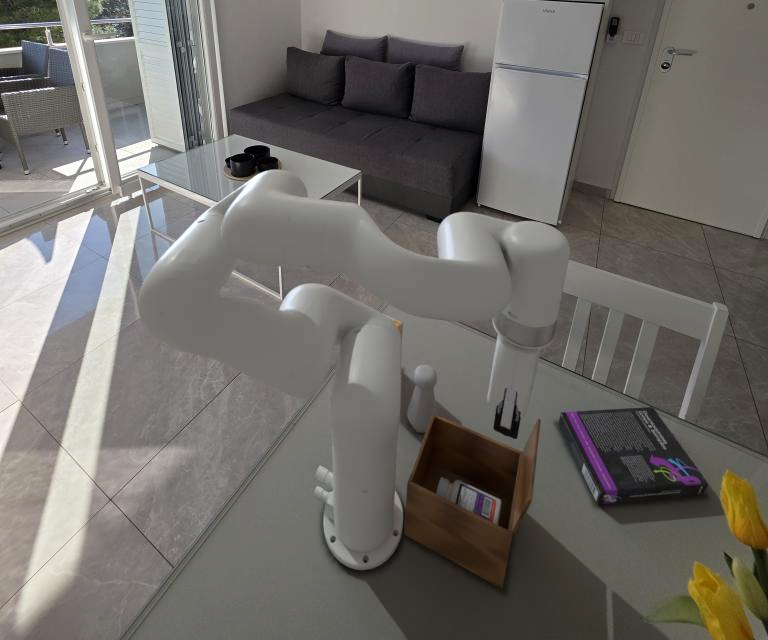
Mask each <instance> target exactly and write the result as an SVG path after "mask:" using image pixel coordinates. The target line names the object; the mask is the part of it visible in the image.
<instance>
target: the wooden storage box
mask: <svg viewBox="0 0 768 640" xmlns="http://www.w3.org/2000/svg"><path fill="white" fill-rule="evenodd" d="M522 454H523V451H522V450H519V449H517V448H514V447H512V446H510V445H507V444H505V443H504V442H501V441H498V440H496V439H494V438H491V437H489V436H487V435H485V434H482V433H480V432H477V431H475V430H472V429H471V428H468V427H466V426H463V425H461V424H459V423H457V422H454V421H452V420H449V419H447V418H445V417H443V416H440V415H438V414H437V415H436V414H432V417H431V420H430V423H429V425H428V428H427V431H426V433H424V435H423V439H422V441H421V445H420V448H419V449H418V453H417V456H416V458H415V461H414V464H413V467H412V469H411V471H410V475H409V477H408V480H407V484H406V497H405V498H406V499H405V512H404V513H405V514H404V525H403V534H404V536H406V537H408V538H410V539H412V540H414V541H415V542H418V543H419V544H421V545H422V546H425V547H426V548H427V549H429V550H432V551H433V552H435V553H437V554H439V555H441V556H442V557H445V558H446V559H448V560H449V561H451V562H454V563H455V564H456V565H458V566H460V567H462V568H464V569H465V570H467V571H470V573H473V574H474V575H475V576H477V577H480V578H481V579H483V580H485V581H486V582H488V583H491V584H492V585H494V586H495V587H497V588H499V589H501V590H503V588H504V583H505V582H504V581H505V576H506V571H507V565H508V560H509V556H510V550H511V545H512V540H513V534H514V533H513V532H512V526H513V518H514V511H515V504H516V497H517V490H518V483H519V475H520V468H521V461H522ZM441 477H443V478H445V479H447V480H448V481H450V483H452V484H453V483H454V482H455V481H456V480H461V481H463V482H465V483H467V484H469V485H471V486H473V487H476V488H478V489H480V490H482V491H484V492H486V493H488V494H490V495H492V496H495V497H497V498H498V499H500V500H501V501H502V504H501V511H500V516H499V522H498V525H496V524H494V523H492V522H491V521H489V520H487V519H485V518H483V517H481V516H479V515H477V514H475V513H473V512H471V511H469V510H467V509H465V508H463V507H461V506H459V505H457V504H455V503H453V502H451V501H449V500H447V499H445V498H443V497H441V496H439V495H437V494H436V492H437V488H438V484H439V481H440V478H441Z"/></svg>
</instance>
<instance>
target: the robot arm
mask: <svg viewBox="0 0 768 640" xmlns="http://www.w3.org/2000/svg"><path fill="white" fill-rule="evenodd" d="M436 242H437V255H438V257H434V256H429V255H423V254H420V253H416V252H414V251H411V250H409V249H407V248H404V247H403V246H401V245H399V244H397V243H396V242H394V241H393V240H391V239H390V238H389V237H388V236H387V235H386V234H384V232H383V231H382V230H381V229H380V228H379V227H378V225H377V224H376V222H375V221H374V220H373V218H372V217H371V216H370V214H369V213H368V212H367V210H366V209H365V208H364V207H363V206H361V204H358V203H355V202H347V201H338V200H331V199H323V198H314V197H309V194H308V188H307V187H306V184H305V182H304V181H303V180H302V179H301V178H300V177H299V176H297V175H296V174H295V173H293V172H291V171H288V170H285V169H269V170H268V169H267V170H265V171H262V172H260V173H257V174H255V175H254V176H253V177H252V178H250V179H249V180H247V181H246V182H245V183H243V184H242V185H241V186H239V187H238V188H237V189H235V190H234V191H232V192H231V193H229V194H228V195H227V196H225V197H223V198H222V199H221V200H220V201H217V203H215V204H214V205H212V206H211V207H209V208H208V209H207V210H206V211H204V212H203V213H202V214H201V215H199V216H198V217H197V218H196V219H195V220H194V221H193V223H192V224H190V225H189V226H188V228H187V229H186V230H184V232H183V233H182V234H181V235H180V236H179V237H178V238H177V239H176V240H175V241H174V242H173V243H172V244H171V245H170V246H169V248H167V250H166V251H165V252H164V253H163V254H162V255H161V256H159V257H160V258H159V259H158V260H157V261H156V262H155V264H154V265H152V267H151V269H150V270H149V271H148V272H147V275H146V276H145V278H144V280H143V281H142V283H141V286H140V289H139V292H138V297H137V298H138V299H137V308H138V309H137V310H138V314H139V316H140V319H141V321H142V323H143V325H144V326H145V328H146V329H147V331H148V332H149V333H150V334H151V335H152V336H153V337H154V338H155V339H156V340H158V341H159V342H160V343H162V344H163V345H165V346H167V347H170V348H172V349H175V350H177V351H180V352H184V353H187V354H191V355H194V356H195V355H196V356H200V357H203V358H207V359H210V360H213V361H216V362H219V363H221V364H224V365H226V366H227V367H229V368H232V369H233V370H235V371H236V372H240V373H242V374H244V375H246V376H248V377H250V378H252V379H254V380H256V381H258V382H260V383H262V384H264V385H266V386H268V387H271V388H273V389H275V390H277V391H279V392H281V393H284V394H286V395H287V396H292V397H295V398H301V399H302V398H308V397H312V396H313V395H316V394H317V393H318V392H319V390H321V388H322V387H323V385H324V383H325V382H326V380H327V378H328V374H329V371H330V367H331V364H332V360H333V355H334V352H335V350H338V352H339V353H338V357H337V361H336V365H335V369H334V375H333V380H332V385H331V389H330V395H329V401H328V402H329V403H328V422H329V427H330V432H331V455H332V471H330V470H329V469H328V468H325V467H324V466H322V465H319V466H318V468H317V469H316V472H315V475H314V479H315V481H318V482H319V483H321V484H323V485H326V486H328V487H330V491H329V492H328V491H327V490H325V489H324V488H322V487H321V486H319V485H316V487H315V489H314V490H313V497H314V498H316V499H318V500H320V501H322V502H324V511H323V521H322V522H323V523H322V524H323V534H324V538H325V542H326V544H327V547H328V549H329V551H330V552H331V554H332V555H333V556H334V558H335V559H336V560H337V561H338V562H340V564H342V565H344V566H345V567H347V568H350V569H353V570H357V571H366V570H373V569H375V568H377V567H379V566H381V565H383V564H384V563H385V562H387V561H388V560H389V559H390V558H391V556H392V555H393V554H394V552H395V551H396V549H397V548H398V546H399V543H400V541H401V538H402V534H403V531H404V509H403V504H402V501H401V498H400V495H399V493H398V492H397V490H396V480H397V478H396V477H397V476H396V475H397V460H398V440H399V428H400V421H401V420H400V419H401V405H402V403H401V401H402V357H403V355H402V354H403V353H402V352H403V351H402V350H403V349H402V348H403V342H402V343H401V336H400V332H399V330H398V328H397V326H396V325H395V324H394V323H393V322H392V321H391V320H390V319H389V318H388V317H386V316H385V315H386V314H383V313H382V312H380V311H379V310H376V309H374V308H372V307H371V306H369V305H367V304H365V303H363V302H361V301H359V300H358V299H356V298H353V297H351V296H349V295H347V294H345V293H343V292H342V291H339V290H338V289H336V288H333V287H331V286H329V285H326V284H323V283H322V284H321V283H304V284H300V285H297V286H295V287H294V288H292V289H291V290H290V291H289V292H288V293H287V294H286V296H285V297H284V298H283V300H282V302H281V304H280V305H279V308H276V307H274V306H271V305H269V304H267V303H266V302H264V301H262V300H260V299H258V298H255V297H251V296H250V297H249V296H245V295H244V296H241V295H231V296H223V297H221V296H220V294H221V290H222V288H223V287H224V286H225V284H226V282H227V281H228V279H229V278H230V277H231V275H232V273H233V272H234V270H235V268H236V267H237V265H238V264H239V262H240V261H242V262H246V263H252V264H257V265H264V266H273V267H281V268H289V269H295V270H296V269H297V270H305V271H312V272H313V271H314V272H320V273H326V274H336V275H342V276H347V277H349V278H351V279H352V280H354V282H357V284H359V285H360V286H361V287H362V288H363V289H365V290H366V292H368V293H370V294H372V296H374V297H376V298H378V299H379V300H381V301H382V302H384V303H385V304H387V305H389V306H390V307H392V308H394V309H396V310H398V311H400V312H403V313H404V314H406V315H407V314H408V315H411V316H414V317H418V318H423V319H429V320H430V319H431V320H436V321H437V320H439V321H445V322H453V323H479V322H486V321H489V320H491V321H492V326H493V328H494V330H495V332H496V333H497V337H496V342H495V347H494V354H493V360H492V365H491V372H490V378H489V383H488V390H487V396H486V401H487V404H488V406H489V405H490V406H491V407H494V408H495V414H494V419H493V430H494V431H495V432H496V433H499V434H502V435H503V436H505V437H509V438H511V439H513V440H517V439H518V436H519V431H520V425H521V419H522V417H524V416H525V415H526V414H527V410H528V407H529V403H530V400H531V396H532V391H533V387H534V384H535V379H536V376H537V375H536V374H537V371H538V367H539V360H540V356H541V350H543V349H546V348H548V347H549V346H550V345H551V344H552V343H553V342H554V339H555V334H556V329H557V324H558V318H559V313H560V307H561V302H562V297H563V292H564V287H565V281H566V277H567V272H568V268H569V267H568V266H569V262H570V256H571V247H570V243H569V240H568V239H567V237H566V236H565V234H563V232H561V231H560V230H558V229H557V228H556V227H554V226H551V225H550V224H548V223H544V222H540V221H535V220H523V221H518V222H517V221H516V222H515V221H510V220H506V219H501V218H497V217H493V216H490V215H486V214H481V213H477V212H471V211H459V212H454V213H451V214H449V215H448V216H446V217H445V218H444V219H443V220H442V221H441V222H440V224H439V226H438V229H437V233H436Z"/></svg>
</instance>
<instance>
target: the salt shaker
mask: <svg viewBox="0 0 768 640" xmlns="http://www.w3.org/2000/svg"><path fill="white" fill-rule="evenodd" d="M413 382H414V384H415V387H414V389H413V391H412V395H411V398H410V401H409V403H408V407H407V411H406V413H407V414H406V416H407V419H408V421H409V423H410V426H412V428H413V429H414V431H415V432H416V433H419V434H420V433H421V434H426V431H427V428H428V425H429V423H430V420H431V417H432V414H436V415H438V410H437V402H436V396H435V389H434V388H435V386H436V385H437V383H438V375H437V371H436V369H435V368H434V367H432V366H431V365H428V364H420V365H419V366H416V368H415V369H414V372H413Z"/></svg>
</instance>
